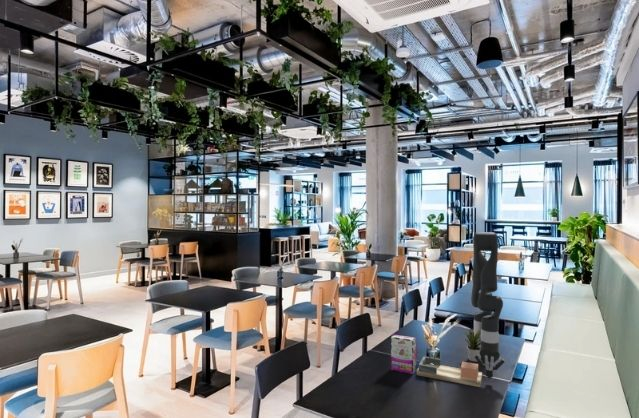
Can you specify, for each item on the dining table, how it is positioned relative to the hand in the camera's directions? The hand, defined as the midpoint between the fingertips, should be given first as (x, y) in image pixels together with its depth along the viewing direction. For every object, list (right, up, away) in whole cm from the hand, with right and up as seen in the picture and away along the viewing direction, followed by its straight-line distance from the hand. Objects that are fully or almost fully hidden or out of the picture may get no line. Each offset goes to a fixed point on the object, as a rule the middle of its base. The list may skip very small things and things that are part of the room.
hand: (489, 377), depth 179 cm
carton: (-8, -1, +4) cm, 8 cm away
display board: (-16, -2, +8) cm, 18 cm away
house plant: (+3, -3, +26) cm, 27 cm away
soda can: (-31, -2, +21) cm, 38 cm away
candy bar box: (-36, -2, +13) cm, 39 cm away
